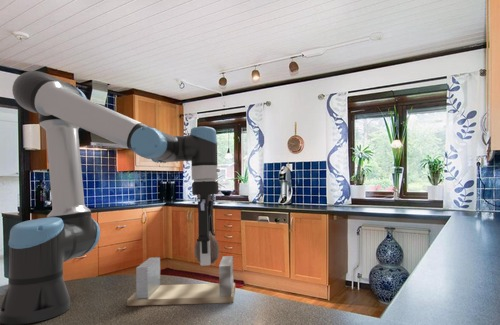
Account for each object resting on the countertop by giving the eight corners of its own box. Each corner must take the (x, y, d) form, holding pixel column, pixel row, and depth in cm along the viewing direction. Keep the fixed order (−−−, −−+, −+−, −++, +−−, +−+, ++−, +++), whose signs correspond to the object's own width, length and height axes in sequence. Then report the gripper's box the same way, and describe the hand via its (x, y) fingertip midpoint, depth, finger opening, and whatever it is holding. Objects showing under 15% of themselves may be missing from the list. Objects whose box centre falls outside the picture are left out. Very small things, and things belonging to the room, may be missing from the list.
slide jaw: (136, 298, 86) (136, 267, 87) (150, 284, 98) (150, 257, 99) (147, 298, 86) (147, 267, 87) (160, 284, 98) (160, 257, 99)
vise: (127, 305, 86) (126, 269, 87) (142, 290, 98) (141, 258, 99) (233, 302, 86) (232, 265, 87) (235, 287, 98) (234, 255, 99)
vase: (189, 264, 91) (189, 233, 92) (204, 259, 98) (203, 229, 98) (210, 266, 88) (209, 233, 89) (224, 260, 94) (223, 230, 95)
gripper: (214, 180, 84) (217, 270, 83) (221, 180, 104) (223, 253, 103) (185, 181, 84) (187, 271, 83) (197, 181, 104) (199, 254, 103)
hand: (207, 261), depth 93 cm, fingers closed on vase, 7 cm apart
